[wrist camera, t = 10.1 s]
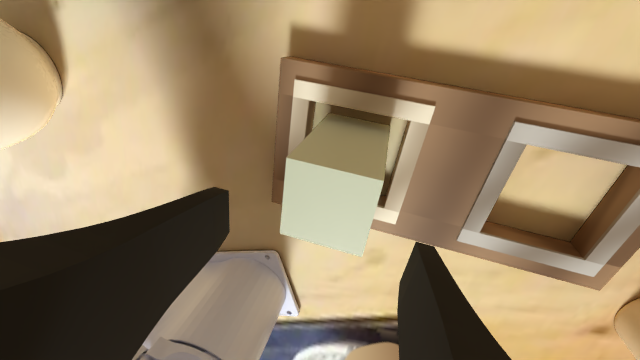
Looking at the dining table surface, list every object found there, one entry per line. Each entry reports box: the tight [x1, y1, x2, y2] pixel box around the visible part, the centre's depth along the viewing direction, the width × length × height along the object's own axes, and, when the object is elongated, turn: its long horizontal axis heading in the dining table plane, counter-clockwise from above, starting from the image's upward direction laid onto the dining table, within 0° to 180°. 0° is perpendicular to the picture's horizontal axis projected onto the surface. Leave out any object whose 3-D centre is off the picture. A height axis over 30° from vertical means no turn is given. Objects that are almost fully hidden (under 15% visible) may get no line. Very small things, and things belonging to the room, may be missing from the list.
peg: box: [280, 113, 390, 257], centre depth 15 cm, size 4×4×8 cm
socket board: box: [272, 57, 640, 291], centre depth 17 cm, size 22×10×2 cm, turn 82°
